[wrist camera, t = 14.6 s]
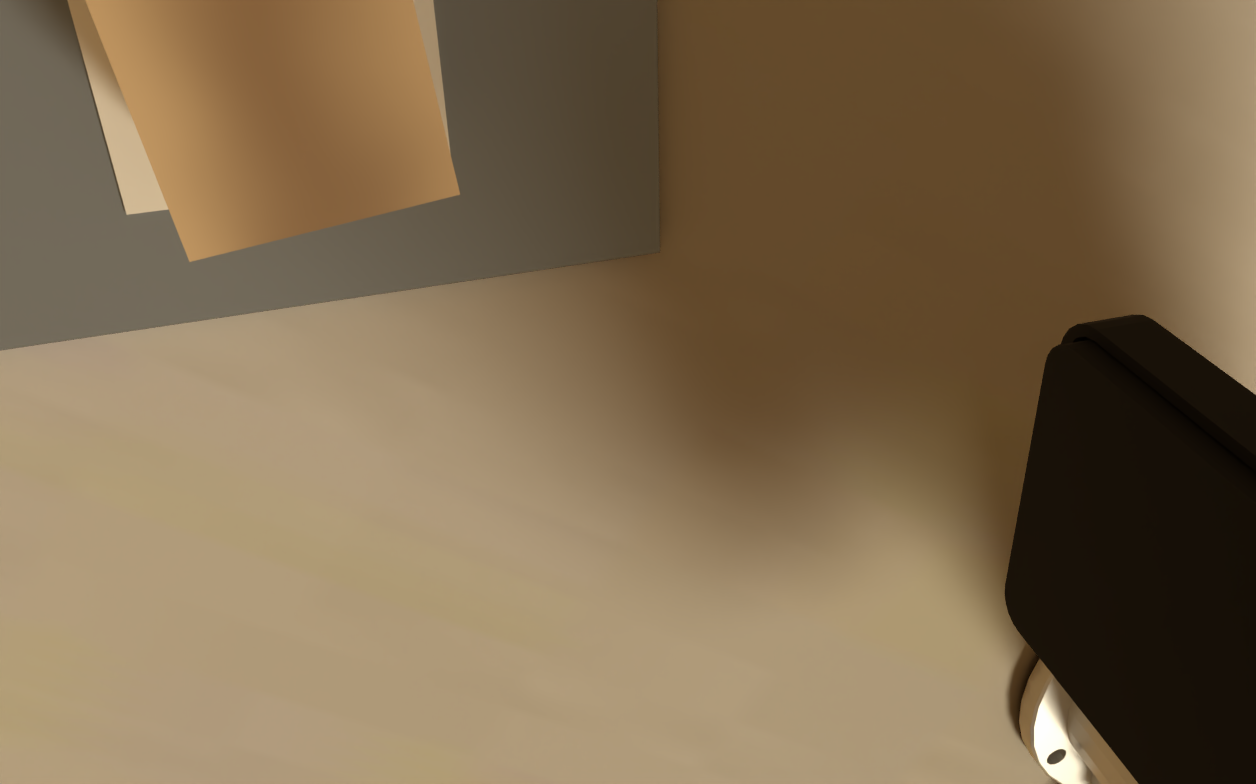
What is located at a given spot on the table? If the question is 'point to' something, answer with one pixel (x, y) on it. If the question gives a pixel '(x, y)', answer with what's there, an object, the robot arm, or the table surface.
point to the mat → (347, 253)
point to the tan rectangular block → (278, 112)
